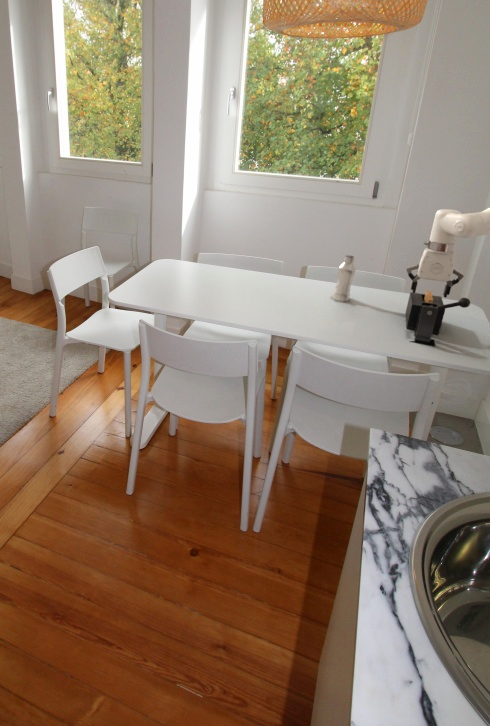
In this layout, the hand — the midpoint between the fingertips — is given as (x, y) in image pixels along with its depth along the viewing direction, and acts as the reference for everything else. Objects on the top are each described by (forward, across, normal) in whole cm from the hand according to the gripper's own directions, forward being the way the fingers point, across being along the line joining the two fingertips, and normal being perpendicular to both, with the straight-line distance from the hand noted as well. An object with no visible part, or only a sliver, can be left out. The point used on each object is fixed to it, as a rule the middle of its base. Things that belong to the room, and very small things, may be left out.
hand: (429, 294), depth 165 cm
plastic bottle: (+14, -29, +14) cm, 35 cm away
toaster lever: (+1, +5, -13) cm, 14 cm away
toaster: (+14, 0, 0) cm, 14 cm away
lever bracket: (+14, -1, -13) cm, 19 cm away
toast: (+10, 0, 0) cm, 10 cm away
